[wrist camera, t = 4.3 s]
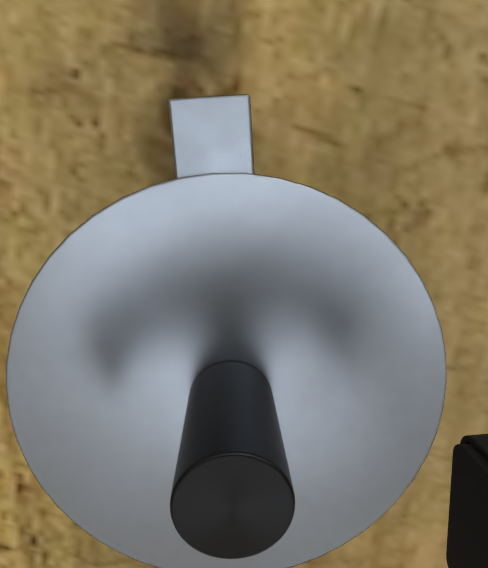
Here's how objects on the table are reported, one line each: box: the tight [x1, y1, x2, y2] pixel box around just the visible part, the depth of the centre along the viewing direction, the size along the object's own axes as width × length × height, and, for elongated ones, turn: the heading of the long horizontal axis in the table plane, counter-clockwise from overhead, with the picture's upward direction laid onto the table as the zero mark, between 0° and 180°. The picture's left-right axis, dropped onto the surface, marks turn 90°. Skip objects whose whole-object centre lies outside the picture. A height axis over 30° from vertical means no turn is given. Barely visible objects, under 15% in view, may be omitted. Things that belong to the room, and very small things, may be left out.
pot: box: [168, 94, 254, 178], centre depth 18 cm, size 13×18×8 cm
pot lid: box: [6, 173, 446, 568], centre depth 11 cm, size 14×14×6 cm
